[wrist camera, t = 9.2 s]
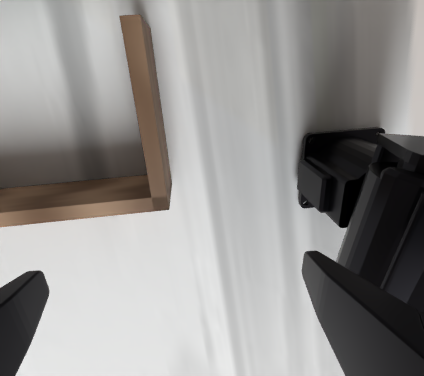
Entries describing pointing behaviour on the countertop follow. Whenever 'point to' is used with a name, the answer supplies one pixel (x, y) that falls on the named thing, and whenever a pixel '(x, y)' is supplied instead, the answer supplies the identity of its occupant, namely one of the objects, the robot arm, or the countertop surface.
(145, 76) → the wooden u-shaped frame
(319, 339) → the countertop surface
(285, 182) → the countertop surface
